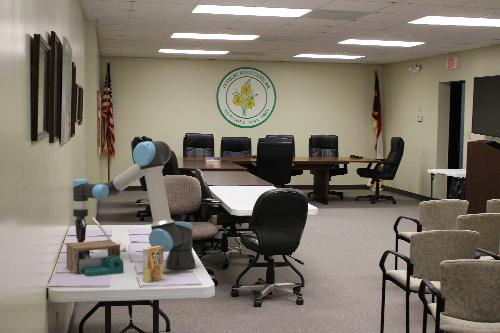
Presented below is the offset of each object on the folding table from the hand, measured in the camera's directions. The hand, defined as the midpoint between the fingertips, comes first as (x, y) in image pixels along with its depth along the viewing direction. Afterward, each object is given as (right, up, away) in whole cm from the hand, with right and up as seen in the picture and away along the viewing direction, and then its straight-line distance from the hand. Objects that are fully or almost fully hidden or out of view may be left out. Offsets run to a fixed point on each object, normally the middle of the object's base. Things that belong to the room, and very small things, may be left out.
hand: (80, 253), depth 339 cm
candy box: (+44, -7, -39) cm, 59 cm away
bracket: (+18, -6, -27) cm, 33 cm away
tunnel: (+11, -5, -18) cm, 22 cm away
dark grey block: (+8, -4, -14) cm, 17 cm away
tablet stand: (+6, -2, +33) cm, 34 cm away
